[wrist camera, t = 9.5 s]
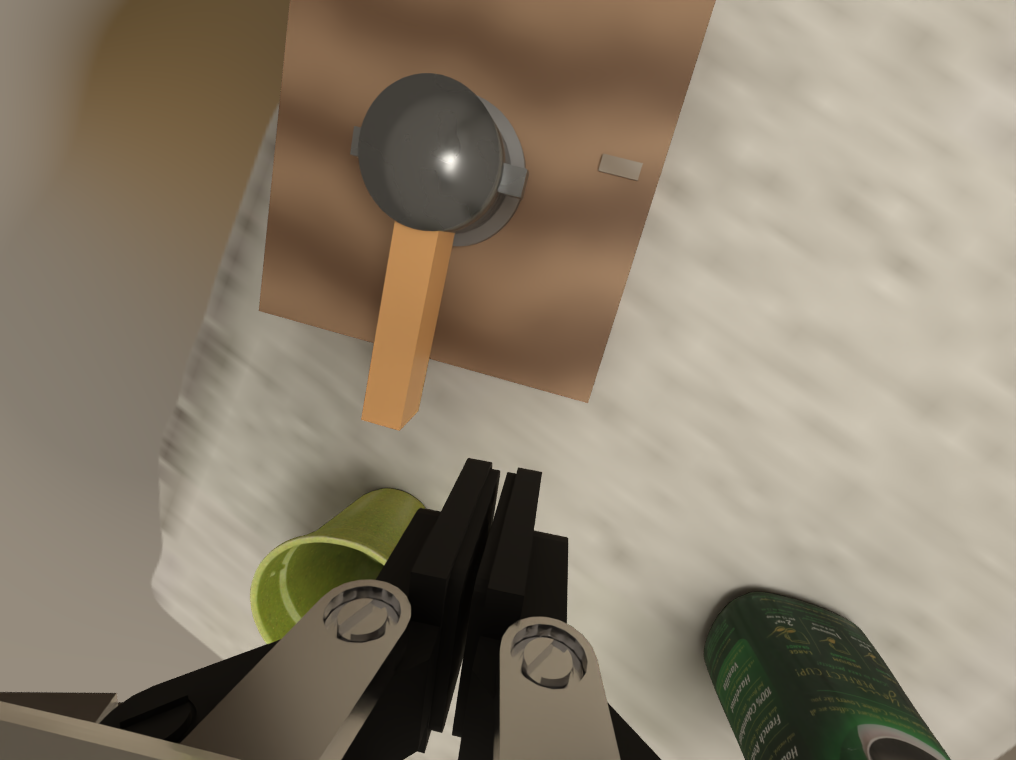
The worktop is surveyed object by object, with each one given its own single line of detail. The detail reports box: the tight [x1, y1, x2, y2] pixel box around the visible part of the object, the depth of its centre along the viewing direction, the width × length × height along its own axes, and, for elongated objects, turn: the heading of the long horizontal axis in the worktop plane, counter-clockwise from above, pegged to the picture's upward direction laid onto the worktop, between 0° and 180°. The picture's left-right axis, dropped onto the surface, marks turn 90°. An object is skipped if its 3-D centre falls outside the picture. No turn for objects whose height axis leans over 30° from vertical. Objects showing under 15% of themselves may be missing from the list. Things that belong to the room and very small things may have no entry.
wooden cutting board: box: [259, 0, 716, 403], centre depth 25 cm, size 20×20×3 cm
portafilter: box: [350, 73, 529, 431], centre depth 23 cm, size 8×16×4 cm, turn 166°
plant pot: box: [250, 488, 425, 644], centre depth 29 cm, size 9×9×9 cm
